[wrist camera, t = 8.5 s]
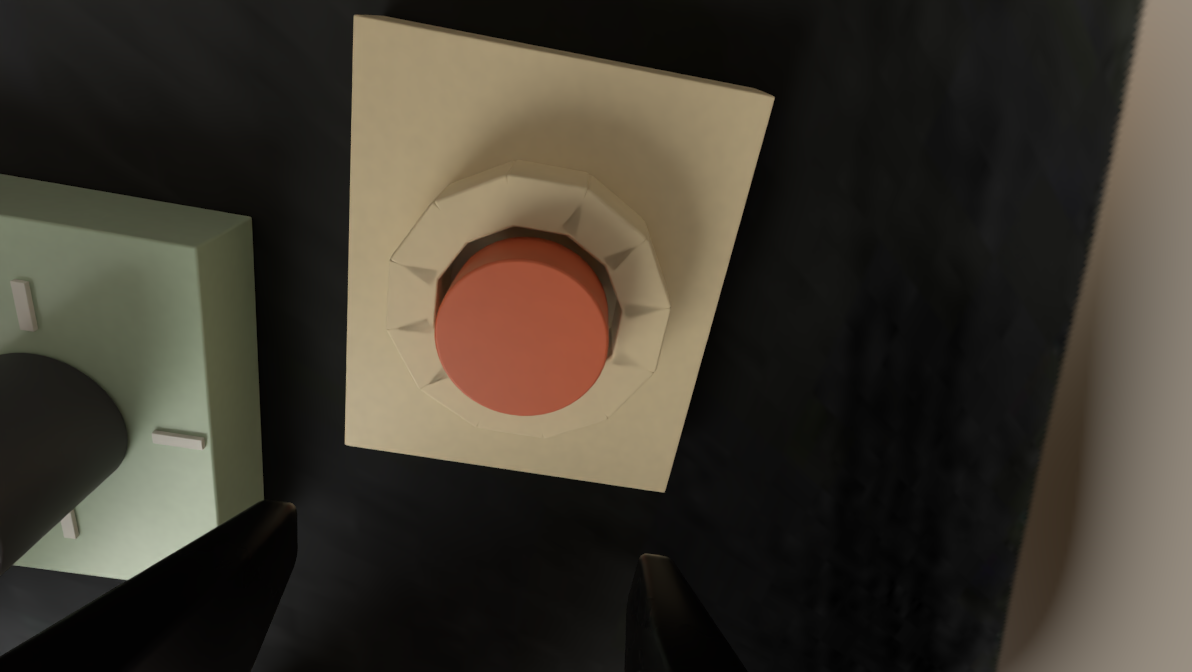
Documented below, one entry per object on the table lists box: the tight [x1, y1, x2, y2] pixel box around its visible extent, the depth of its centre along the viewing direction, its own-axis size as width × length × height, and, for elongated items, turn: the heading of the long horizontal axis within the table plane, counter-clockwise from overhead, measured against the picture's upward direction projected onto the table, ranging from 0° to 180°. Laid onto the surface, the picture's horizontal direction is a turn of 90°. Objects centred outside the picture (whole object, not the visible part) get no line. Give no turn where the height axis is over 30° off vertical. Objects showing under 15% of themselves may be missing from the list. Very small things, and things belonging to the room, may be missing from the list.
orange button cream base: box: [345, 15, 775, 493], centre depth 18 cm, size 12×10×4 cm
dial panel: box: [0, 174, 264, 580], centre depth 20 cm, size 12×9×3 cm
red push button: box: [434, 237, 609, 416], centre depth 16 cm, size 4×4×2 cm
